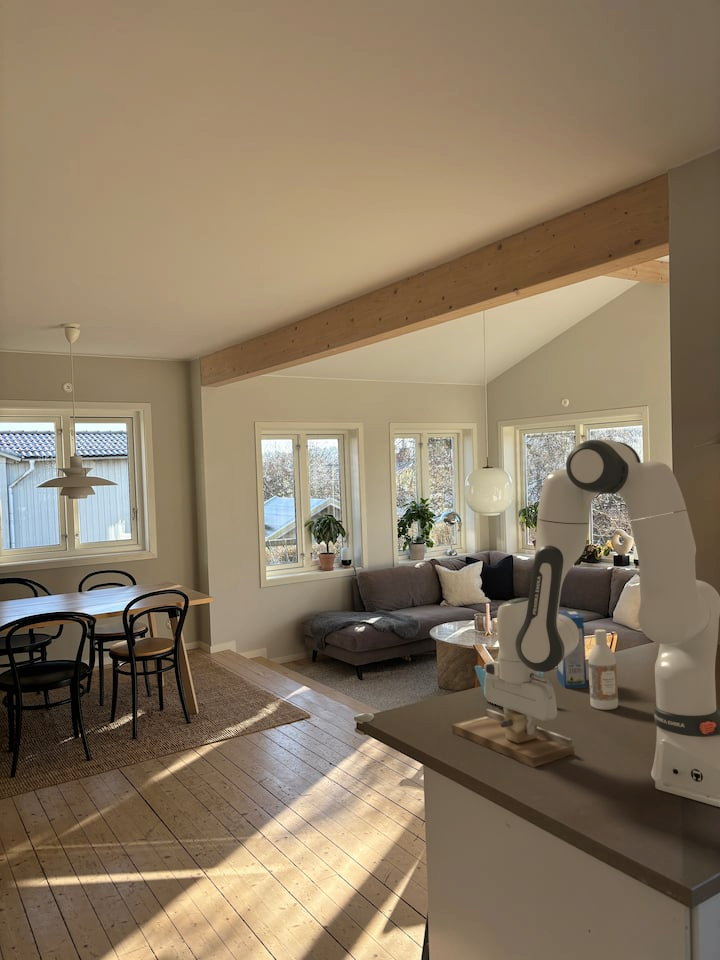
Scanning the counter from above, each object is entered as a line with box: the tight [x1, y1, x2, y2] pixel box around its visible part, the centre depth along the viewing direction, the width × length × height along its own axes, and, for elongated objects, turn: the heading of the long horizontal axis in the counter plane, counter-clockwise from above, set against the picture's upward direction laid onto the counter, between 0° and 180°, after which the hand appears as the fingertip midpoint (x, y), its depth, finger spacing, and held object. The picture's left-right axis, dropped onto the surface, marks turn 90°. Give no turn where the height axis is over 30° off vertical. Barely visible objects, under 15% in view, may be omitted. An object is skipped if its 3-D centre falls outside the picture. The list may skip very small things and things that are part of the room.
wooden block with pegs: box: [500, 710, 538, 743], centre depth 173 cm, size 4×11×6 cm, turn 121°
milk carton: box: [556, 610, 588, 689], centre depth 223 cm, size 10×6×20 cm, turn 178°
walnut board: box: [451, 708, 575, 768], centre depth 176 cm, size 28×12×4 cm, turn 31°
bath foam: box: [587, 628, 619, 711], centre depth 200 cm, size 7×7×20 cm
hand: (521, 730), depth 173 cm, fingers closed on wooden block with pegs, 4 cm apart
